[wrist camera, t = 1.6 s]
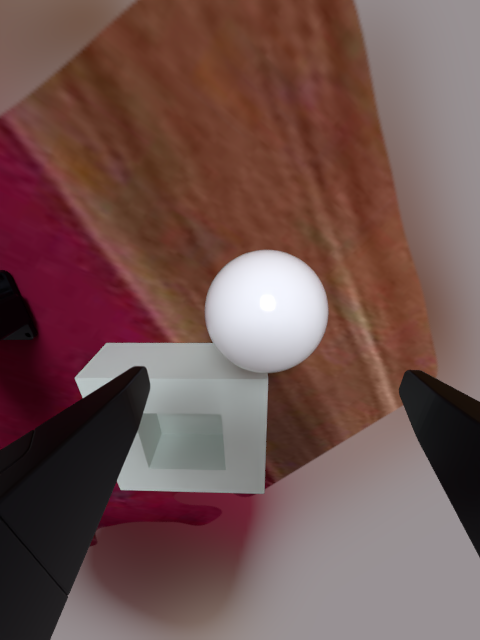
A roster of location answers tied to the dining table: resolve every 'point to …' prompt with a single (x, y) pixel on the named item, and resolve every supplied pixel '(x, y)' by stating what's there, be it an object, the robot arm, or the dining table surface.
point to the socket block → (189, 418)
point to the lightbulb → (266, 311)
